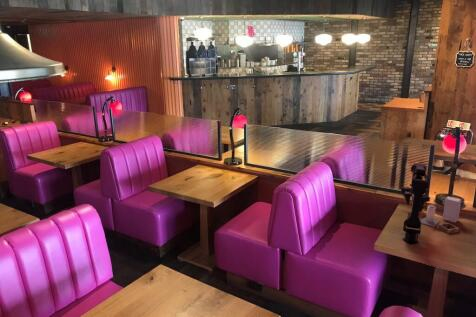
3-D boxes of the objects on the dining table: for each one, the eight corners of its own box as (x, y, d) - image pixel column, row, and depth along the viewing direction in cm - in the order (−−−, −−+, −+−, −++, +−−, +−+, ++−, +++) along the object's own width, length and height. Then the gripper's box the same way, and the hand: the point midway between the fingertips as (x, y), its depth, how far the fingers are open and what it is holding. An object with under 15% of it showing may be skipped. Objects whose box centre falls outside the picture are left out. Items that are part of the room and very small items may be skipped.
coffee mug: (409, 206, 279) (411, 193, 276) (422, 208, 277) (424, 194, 275) (412, 213, 268) (414, 199, 265) (426, 214, 266) (428, 201, 264)
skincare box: (458, 220, 259) (462, 199, 254) (455, 223, 255) (459, 201, 250) (444, 216, 264) (448, 195, 260) (441, 219, 260) (445, 198, 256)
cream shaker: (431, 223, 253) (433, 208, 250) (424, 220, 256) (426, 205, 253) (434, 221, 255) (437, 206, 252) (427, 218, 259) (430, 203, 256)
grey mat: (434, 227, 249) (434, 226, 248) (419, 222, 254) (419, 222, 254) (439, 221, 257) (439, 220, 256) (424, 217, 262) (424, 216, 262)
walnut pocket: (448, 233, 241) (448, 230, 240) (437, 227, 248) (438, 224, 247) (458, 231, 243) (459, 228, 242) (447, 226, 250) (448, 222, 250)
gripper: (439, 187, 235) (435, 211, 240) (416, 177, 252) (412, 200, 257) (424, 189, 232) (420, 213, 236) (401, 179, 249) (398, 202, 253)
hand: (413, 207), depth 246 cm, fingers open, 9 cm apart
